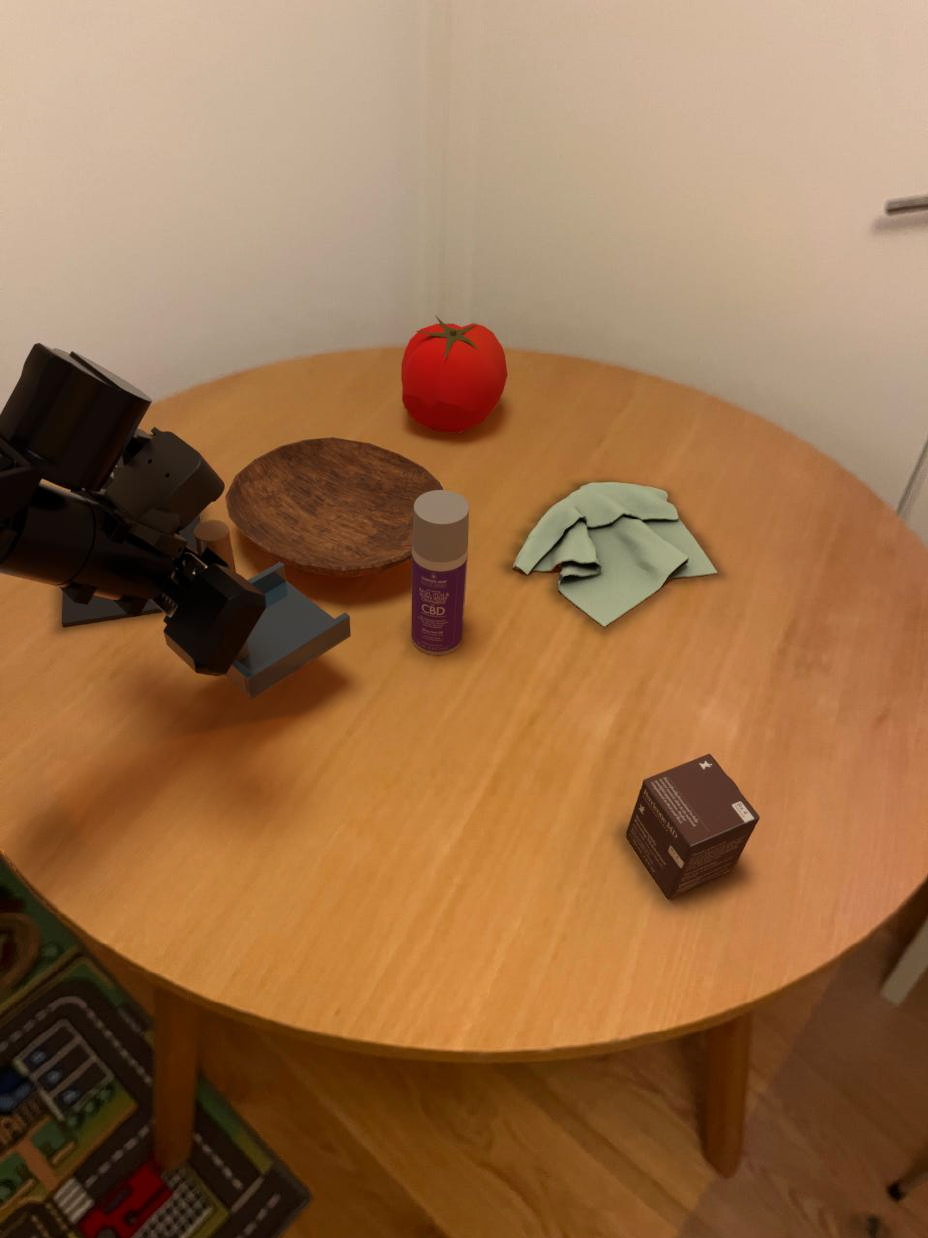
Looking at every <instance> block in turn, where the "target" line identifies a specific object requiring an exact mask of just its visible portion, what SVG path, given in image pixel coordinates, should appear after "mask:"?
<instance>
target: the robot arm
mask: <svg viewBox="0 0 928 1238" xmlns="http://www.w3.org/2000/svg"><path fill="white" fill-rule="evenodd" d="M152 403H153V399H152V398H151V397H150V396H149V395H147V393H145V392H143V390H140V389H139V388H138V387H136V386H135V385H134V384H132V383H130V382H128V381H127V380H125V378H122V377H121V376H119V375H117V374H115V373H114V372H112V371H111V370H109V369H107V368H106V367H104V366H102V365H100V364H98V363H96V362H95V361H93V360H92V359H89V358H88V357H85V356H83V355H81V354H80V353H78V352H75V351H74V350H71V351H70V352H67V351H65V350H62V349H60V348H57V347H56V348H51V347H49V346H48V345H47V346H46V345H45V344H43V343H41V342H36V343H34V344H33V345H32V347H31V349H30V351H29V353H28V355H27V356H26V358H25V361H24V363H23V366H22V370H21V375H20V376H19V378H18V381H17V383H16V385H15V386H14V388H13V390H12V391H11V393H10V396H9V397H8V399H7V401H6V403H5V405H4V407H3V408H2V410H1V412H0V574H1V575H7V576H11V577H13V578H14V577H15V578H19V579H23V580H28V581H31V582H37V583H40V584H45V585H49V586H54V587H58V588H59V589H60V590H61V591H62V593H63V592H64V593H65V594H66V595H67V596H68V597H69V598H70V599H71V600H72V601H73V602H75V603H80V604H85V605H88V603H89V602H90V600H91V598H92V596H93V595H96V596H100V597H104V598H108V599H112V600H113V601H114V602H115V603H116V604H117V605H118V606H119V607H120V608H121V609H122V610H123V611H125V612H126V613H127V614H130V615H134V616H133V617H140V616H141V615H140V614H141V612H142V610H143V609H144V607H145V605H146V603H147V602H148V600H151V601H152V602H153V603H154V604H156V605H157V606H158V607H159V608H160V609H161V610H162V611H163V613H164V614H165V616H164V618H163V621H162V622H163V623H165V625H166V626H165V627H164V628H163V635H164V640H165V644H166V646H168V648H169V649H171V651H173V653H175V654H176V655H177V656H178V657H179V658H180V660H182V661H183V662H184V663H185V664H186V665H187V666H188V667H189V668H190V669H192V671H194V673H196V674H198V675H199V674H200V675H205V676H212V677H221V676H225V674H227V672H228V670H229V669H230V667H231V665H232V664H233V662H234V660H235V659H236V657H237V655H238V654H239V652H240V650H241V649H242V647H243V645H244V644H245V642H246V640H247V639H248V637H249V635H250V634H251V632H252V630H253V629H254V627H255V625H256V624H257V622H258V620H259V619H260V617H261V615H262V614H263V612H264V610H265V609H266V597H265V595H264V594H263V593H262V592H260V591H259V590H258V589H257V588H256V587H254V586H253V585H252V584H251V583H250V582H248V581H247V580H248V579H246V578H245V577H244V576H243V575H242V574H239V573H238V572H237V571H236V572H234V571H232V570H230V567H229V565H228V564H227V563H226V562H225V561H224V560H223V559H222V558H220V557H219V556H218V555H217V554H216V553H214V552H213V551H212V550H211V549H210V548H208V547H206V548H205V550H204V551H203V553H202V555H201V556H200V558H199V557H198V553H197V552H196V551H194V550H193V549H191V548H190V547H188V546H187V543H188V541H187V540H185V539H184V538H183V537H182V536H181V535H180V533H179V531H181V530H183V529H185V528H186V527H187V526H188V525H189V524H190V523H191V522H192V521H193V520H194V519H195V518H196V517H197V516H198V515H199V516H200V514H201V513H202V512H203V511H204V510H205V509H206V508H207V507H208V506H209V505H210V504H211V503H213V502H214V503H215V502H217V500H219V498H221V496H222V495H223V494H224V491H225V487H226V486H225V481H223V479H222V478H221V477H220V476H219V474H218V473H217V472H216V471H215V470H214V468H213V467H212V466H211V465H210V464H209V462H208V461H207V460H206V459H205V457H204V456H202V454H201V453H200V452H199V451H198V450H197V449H196V448H194V447H193V446H192V445H190V444H188V442H186V441H185V440H184V439H182V438H181V437H179V435H177V434H176V433H174V432H172V431H168V430H165V431H164V430H160V429H158V428H157V427H156V426H154V427H152V428H151V429H150V432H151V433H148V432H146V430H143V429H141V428H139V426H140V424H141V422H142V420H143V419H144V417H145V416H146V414H147V412H148V410H149V408H150V406H151V404H152ZM42 480H44V481H46V482H48V483H45V482H42ZM49 483H51V484H53V485H51V484H49ZM54 485H56V486H54ZM57 486H58V487H57ZM59 487H60V488H59ZM62 488H63V489H62Z"/></svg>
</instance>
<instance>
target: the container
mask: <svg viewBox="0 0 928 1238" xmlns="http://www.w3.org/2000/svg"><path fill="white" fill-rule="evenodd" d="M469 522H470V505H469V502H468V501H467V499H466V498H465V497H464V496H463V495H461V494H459V493H457V492H455V491H451V490H447V489H443V490H434V491H429V492H426V493H424V494H422V495H421V496H419V497H418V498H417V499H416V501H415V503H414V515H413V541H412V558H411V642H412V644H413V646H414V647H415V648H416V649H417V650H419V651H420V652H421V653H424V654H426V655H429V656H445V655H446V656H447V655H448V654H451V653H453V652H455V651H457V649H459V648H460V646H461V644H462V642H463V637H464V622H465V621H464V620H465V605H466V591H467V576H468V575H467V574H468V559H469V528H470V527H469V525H470V523H469Z"/></svg>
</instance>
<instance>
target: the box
mask: <svg viewBox="0 0 928 1238" xmlns="http://www.w3.org/2000/svg"><path fill="white" fill-rule="evenodd" d="M760 819H761V816H760V815H759V813H758V812H757V811H756V810H755V808H754V807H753V805H751V803H750V801H748V799H747V798H746V797H745V795H744V794H743V793H742V792H741V790H740V788H739V786H738V785H737V783H735V781H734V780H733V778H731V777H730V776H729V774H728V775H727V773H726V772H725V770H724V769H723V768H722V767H721V766H720V764H719V763H718V761H717V760H716V759H715V758H714V757H713V755H712V753H707V754H704V755H702V756H699V757H697V758H694V759H692V760H690V761H687V762H684V763H682V764H679V765H677V766H674V767H672V768H669V769H667V770H664V771H662V772H659V773H656V774H654V775H651V776H649V777H645V778H644V779H643V780H642V783H641V787H640V789H639V792H638V795H637V799H636V802H635V805H634V807H633V811H632V814H631V816H630V819H629V823H628V825H627V829H626V831H625V834H626V835H625V836H626V838H627V839H628V841H629V842H630V844H631V846H632V847H633V849H634V850H635V852H636V853H637V855H638V856H639V858H640V859H641V861H642V862H643V864H644V866H645V867H646V868H647V870H648V872H649V873H650V874H651V877H652V878H653V879H654V880H655V882H656V883H657V884H658V886H659V887H660V889H661V890H662V892H663V894H664V895H665V896H666V897H667V898H670V899H671V898H674V897H676V896H678V895H680V894H683V893H685V892H686V891H689V890H690V889H693V888H695V887H697V886H699V885H702V884H703V883H706V882H708V881H710V880H713V879H715V878H717V877H719V876H723V875H724V874H726V873H729V872H730V871H732V870H733V869H734V868H735V866H736V865H737V863H738V861H739V859H740V857H741V855H742V853H743V851H744V849H745V847H746V845H747V844H748V841H749V840H750V838H751V836H752V834H753V832H754V830H755V829H756V826H757V825H758V822H759V821H760Z"/></svg>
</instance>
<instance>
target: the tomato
mask: <svg viewBox="0 0 928 1238" xmlns="http://www.w3.org/2000/svg"><path fill="white" fill-rule="evenodd" d="M434 316H435V318H436V319H437V321H438V322H439V323H434V324H431V325H428V326H426V327H423V328H420V329H418V330H416V331H415V332H416V333H415V334H414V335H413V336H412V337H411V338H410V339H409V340H408V342H407V345H406V347H405V350H404V353H403V356H402V359H401V369H400V370H401V371H400V375H401V377H400V378H401V387H402V390H401V401H402V403H403V406H404V409H405V410H406V411H407V413H408V414H409V415H410V417H411V418H412V419H413V420H414V421H415V422H416V423H417V424H418V425H420V426H422V427H424V428H426V429H428V430H430V431H434V432H441V433H442V432H444V433H449V434H460V433H462V432H465V431H467V430H470V429H472V428H475V427H477V426H479V425H481V424H482V423H484V421H485V420H486V419H487V418H488V417H489V415H490V414H491V413H492V412H493V411H494V409H495V408H496V407H497V405H498V403H499V401H500V399H501V397H502V395H503V393H504V390H505V387H506V384H507V378H508V368H507V360H506V354H505V351H504V348H503V346H502V344H501V342H500V341H499V339H498V338H497V337H496V334H495V333H494V332H493V331H492V330H491V329H489V328H488V327H486V326H484V325H482V324H479V323H475V322H472V323H469V324H466V325H463V326H460V325H458V324H456V323H444V322H443V321H442V320H441V318H439V317H438V316H437V315H434Z"/></svg>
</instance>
